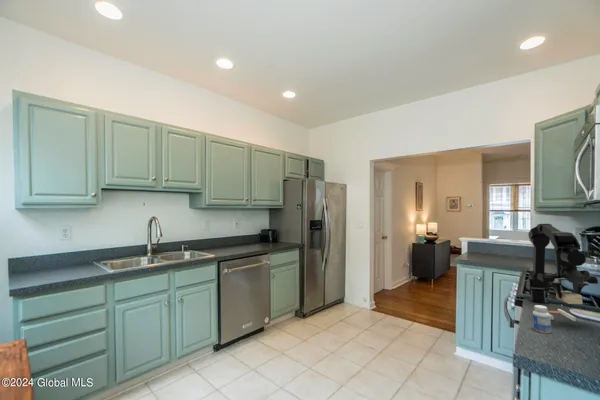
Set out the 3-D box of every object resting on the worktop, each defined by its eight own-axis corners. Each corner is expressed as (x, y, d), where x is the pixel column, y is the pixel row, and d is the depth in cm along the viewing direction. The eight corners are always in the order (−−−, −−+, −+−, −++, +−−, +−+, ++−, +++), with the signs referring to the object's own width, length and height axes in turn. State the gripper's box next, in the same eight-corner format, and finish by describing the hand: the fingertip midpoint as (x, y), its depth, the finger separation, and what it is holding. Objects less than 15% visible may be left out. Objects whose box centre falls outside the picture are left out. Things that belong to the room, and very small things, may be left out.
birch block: (556, 298, 123) (555, 290, 123) (569, 299, 122) (568, 290, 122) (568, 303, 116) (567, 295, 116) (582, 304, 115) (581, 295, 115)
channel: (537, 310, 136) (537, 307, 136) (560, 312, 134) (559, 308, 134) (551, 319, 125) (550, 316, 125) (576, 321, 122) (575, 317, 122)
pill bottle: (534, 327, 117) (532, 303, 118) (551, 330, 114) (549, 305, 115) (534, 331, 113) (532, 307, 114) (552, 334, 110) (549, 309, 110)
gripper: (548, 264, 116) (551, 302, 115) (606, 265, 110) (610, 305, 109) (535, 260, 126) (538, 295, 125) (587, 261, 121) (590, 297, 120)
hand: (568, 298), depth 120 cm, fingers closed on birch block, 5 cm apart
